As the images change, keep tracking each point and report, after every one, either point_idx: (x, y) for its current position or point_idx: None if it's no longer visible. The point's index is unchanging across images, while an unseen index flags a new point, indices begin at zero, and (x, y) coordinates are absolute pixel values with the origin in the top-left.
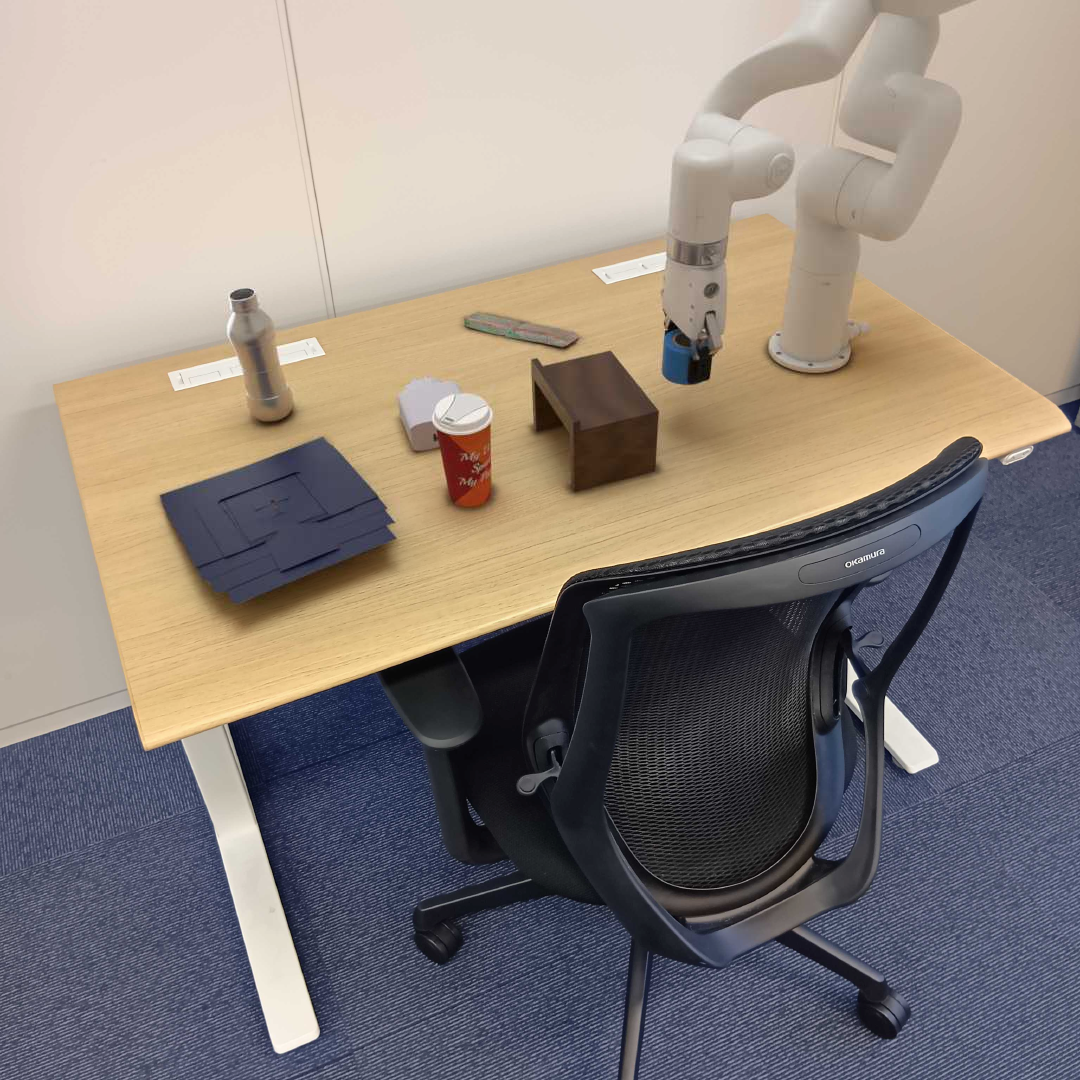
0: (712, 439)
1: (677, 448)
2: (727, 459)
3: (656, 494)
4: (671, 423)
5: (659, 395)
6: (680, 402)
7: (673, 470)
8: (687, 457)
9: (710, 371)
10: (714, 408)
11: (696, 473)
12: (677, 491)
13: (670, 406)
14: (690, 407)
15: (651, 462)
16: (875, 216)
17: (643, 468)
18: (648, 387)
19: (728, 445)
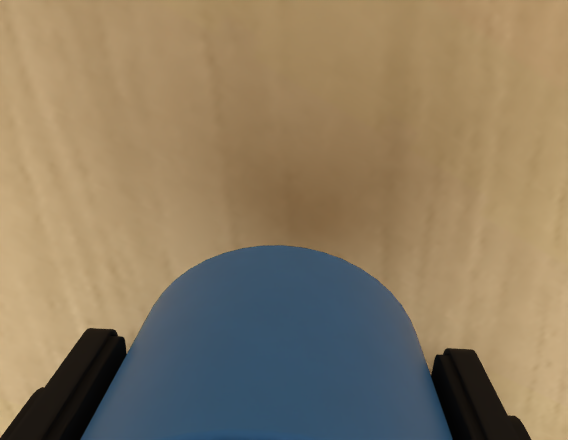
0: (407, 158)
1: (390, 280)
2: (532, 169)
3: (536, 412)
4: (260, 236)
5: (91, 196)
6: (155, 150)
7: (476, 335)
8: (446, 275)
9: (494, 390)
10: (237, 49)
11: (529, 288)
12: (562, 366)
13: (167, 194)
14: (197, 133)
15: None
16: None
17: None
18: (32, 207)
19: (468, 124)
